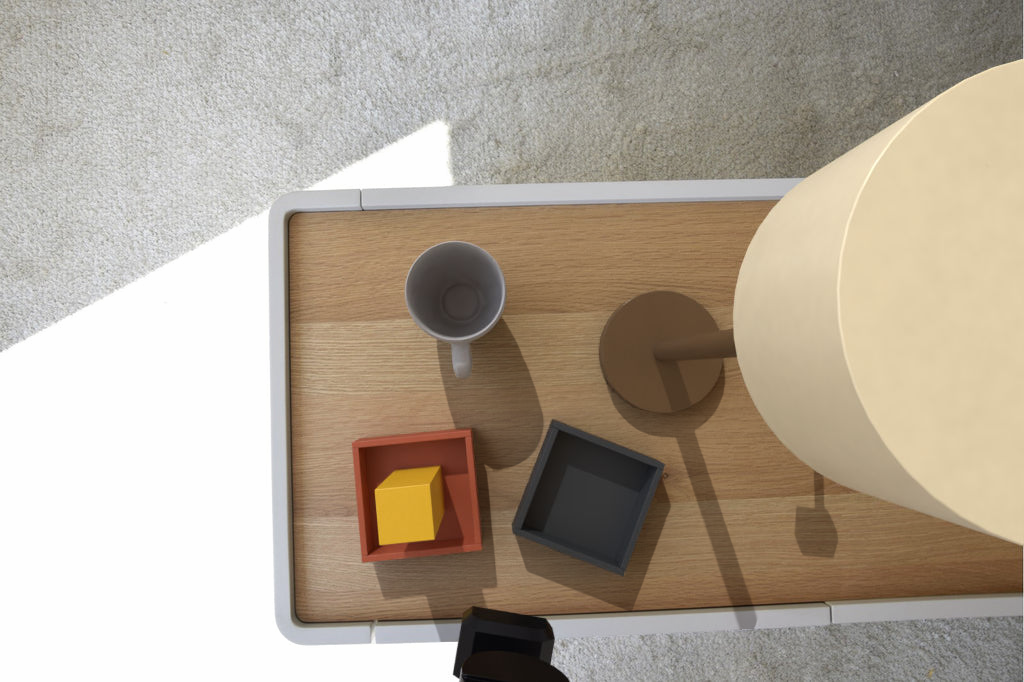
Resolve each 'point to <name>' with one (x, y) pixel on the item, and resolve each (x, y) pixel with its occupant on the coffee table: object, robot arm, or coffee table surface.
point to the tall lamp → (876, 315)
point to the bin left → (459, 487)
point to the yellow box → (410, 505)
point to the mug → (456, 297)
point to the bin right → (587, 497)
